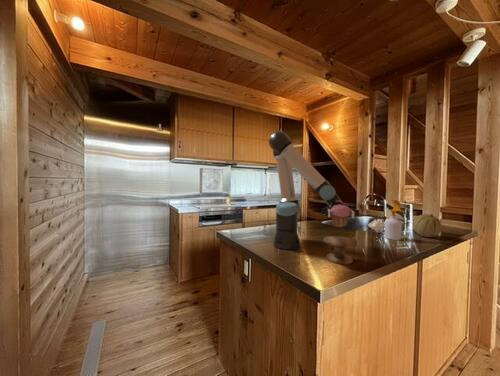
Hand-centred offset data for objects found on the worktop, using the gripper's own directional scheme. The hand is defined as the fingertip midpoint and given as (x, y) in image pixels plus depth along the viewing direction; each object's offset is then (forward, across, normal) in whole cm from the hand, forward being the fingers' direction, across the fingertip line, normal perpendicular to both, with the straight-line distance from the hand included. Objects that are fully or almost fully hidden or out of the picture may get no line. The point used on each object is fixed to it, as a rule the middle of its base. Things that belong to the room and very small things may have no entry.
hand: (341, 214), depth 93 cm
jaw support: (-75, -31, -22) cm, 84 cm away
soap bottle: (-57, -34, -22) cm, 70 cm away
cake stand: (-5, 0, -21) cm, 22 cm away
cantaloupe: (-69, -56, -22) cm, 92 cm away
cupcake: (-5, 0, -6) cm, 8 cm away
